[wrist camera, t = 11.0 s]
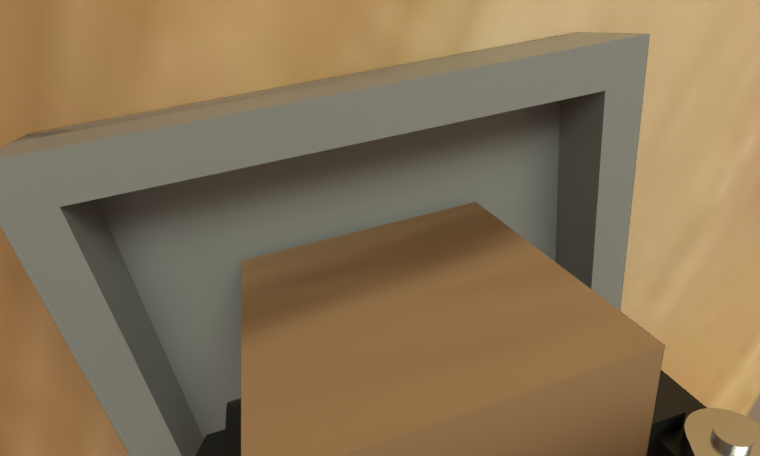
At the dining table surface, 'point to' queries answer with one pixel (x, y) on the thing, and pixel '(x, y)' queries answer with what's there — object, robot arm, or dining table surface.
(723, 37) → the dining table surface
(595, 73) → the tray
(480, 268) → the walnut cube
